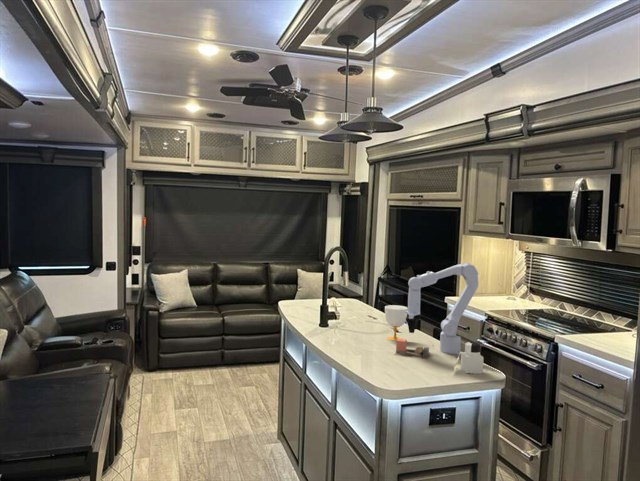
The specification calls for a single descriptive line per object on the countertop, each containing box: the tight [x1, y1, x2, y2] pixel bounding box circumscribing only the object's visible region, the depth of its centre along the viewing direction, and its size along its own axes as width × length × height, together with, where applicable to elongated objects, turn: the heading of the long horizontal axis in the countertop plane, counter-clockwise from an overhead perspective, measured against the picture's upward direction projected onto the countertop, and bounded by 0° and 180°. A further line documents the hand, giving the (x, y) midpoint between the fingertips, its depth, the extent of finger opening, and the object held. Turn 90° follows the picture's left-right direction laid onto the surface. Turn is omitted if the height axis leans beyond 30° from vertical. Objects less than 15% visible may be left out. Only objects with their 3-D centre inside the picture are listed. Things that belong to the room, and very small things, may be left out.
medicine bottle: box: [460, 341, 484, 375], centre depth 198 cm, size 7×7×12 cm
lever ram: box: [395, 338, 408, 353], centre depth 219 cm, size 4×4×6 cm
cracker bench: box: [394, 347, 431, 360], centre depth 217 cm, size 15×11×4 cm
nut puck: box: [414, 345, 424, 355], centre depth 216 cm, size 4×4×3 cm
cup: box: [384, 304, 408, 342], centre depth 246 cm, size 12×12×17 cm
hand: (413, 330), depth 225 cm, fingers open, 7 cm apart
